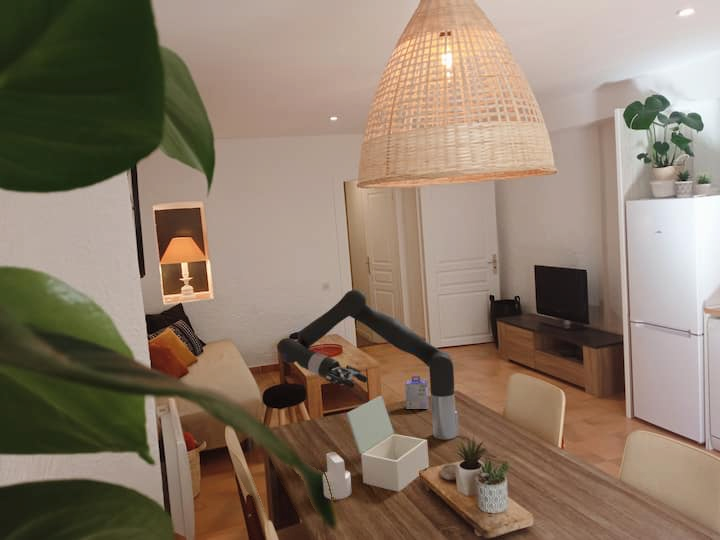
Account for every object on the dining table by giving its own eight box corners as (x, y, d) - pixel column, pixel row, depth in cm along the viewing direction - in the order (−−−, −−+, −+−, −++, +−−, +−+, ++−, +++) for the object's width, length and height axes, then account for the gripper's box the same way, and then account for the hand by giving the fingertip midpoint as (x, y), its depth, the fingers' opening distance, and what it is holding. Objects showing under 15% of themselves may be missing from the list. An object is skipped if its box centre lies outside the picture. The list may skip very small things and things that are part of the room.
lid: (361, 453, 196) (359, 453, 196) (394, 432, 212) (392, 433, 213) (347, 413, 197) (345, 413, 197) (381, 395, 214) (379, 395, 214)
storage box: (363, 483, 197) (361, 454, 196) (394, 460, 213) (393, 433, 212) (398, 491, 189) (396, 461, 188) (428, 467, 205) (427, 440, 204)
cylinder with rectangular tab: (320, 490, 194) (317, 455, 193) (345, 484, 197) (342, 449, 196) (329, 502, 185) (326, 465, 184) (355, 494, 189) (353, 458, 188)
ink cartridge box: (429, 406, 270) (427, 375, 269) (428, 410, 265) (426, 378, 264) (407, 406, 272) (405, 375, 271) (406, 410, 267) (404, 379, 266)
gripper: (314, 360, 207) (352, 377, 199) (336, 353, 219) (373, 368, 211) (310, 380, 208) (347, 397, 201) (332, 371, 221) (368, 387, 213)
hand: (360, 382), depth 206 cm, fingers open, 8 cm apart
